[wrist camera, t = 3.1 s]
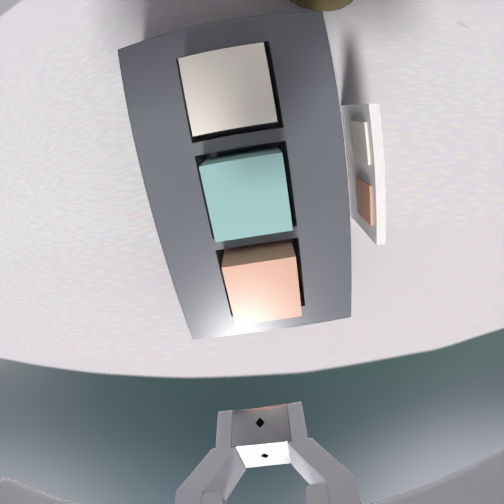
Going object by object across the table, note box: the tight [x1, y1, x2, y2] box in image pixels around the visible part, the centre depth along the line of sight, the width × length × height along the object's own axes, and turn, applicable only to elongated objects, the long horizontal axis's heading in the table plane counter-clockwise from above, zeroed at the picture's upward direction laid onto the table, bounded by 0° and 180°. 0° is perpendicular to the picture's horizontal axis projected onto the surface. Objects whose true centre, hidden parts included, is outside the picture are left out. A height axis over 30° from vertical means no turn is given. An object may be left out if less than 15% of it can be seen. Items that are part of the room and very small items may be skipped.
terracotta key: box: [222, 239, 302, 325], centre depth 19 cm, size 4×4×3 cm
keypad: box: [118, 11, 386, 339], centre depth 18 cm, size 13×19×5 cm
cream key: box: [178, 42, 278, 136], centre depth 14 cm, size 4×4×3 cm
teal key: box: [199, 146, 293, 242], centre depth 16 cm, size 4×4×3 cm
